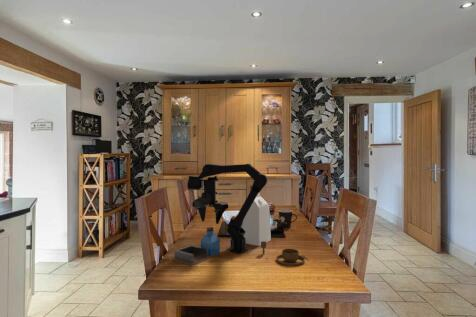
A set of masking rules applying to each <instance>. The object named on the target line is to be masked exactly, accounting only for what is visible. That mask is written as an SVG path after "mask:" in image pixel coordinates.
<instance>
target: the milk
mask: <svg viewBox="0 0 476 317" xmlns="http://www.w3.org/2000/svg"><path fill="white" fill-rule="evenodd" d="M260 192H261V191H260ZM260 192H259V193H258V195H257V196H256V198H255V200H254V202H253V204H252V205H251V207H250V209H249V211H248V212H247V214H246V216H245V218H244V221H243V224H242V228H243V229H244V230H245V235H244V238H246V244H247V245H251V246H252V245H253V246H258V247H261V242H262V241H265V242H266V244H267V243H268V242H270V241H271V240H272V238H271V237H272V236H271V234H272V233H271V232H272V231H271V214H270V213H271V212H270V205H269V203H268V202H267V201H266V200H265V199H264V198H263V197H262V196H261V193H260Z"/></svg>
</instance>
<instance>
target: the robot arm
mask: <svg viewBox="0 0 476 317" xmlns="http://www.w3.org/2000/svg"><path fill="white" fill-rule="evenodd" d="M228 173H229V174H231V173H233V174H234V173H246V174H247V175H248V176H250V178H251V179H252V180H253V183H252V186H251V190H250V192H249V194H248V195H247V197H246V199H245V201H244V202H243V204H242V206H241V207H240V209H239V211H238V213H237V215H236V216H234V215H233V216H232V217H231V218H230V220H229V222H228V223H227V225H226V226H227V228H226V231H227V232H226V233H227V234H228V235H229V236H230V238H231V239H230V249H228V250H229V251H228V252H232V253H237V254H241V253H244V252H246V251H248V248H247V247H246V246H247V245H246V238H244V235H245V230H244V229H243V228H242V224H243V221H244V218H245V216H246V214H247V212H248V211H249V209H250V207H251V205H252V204H253V202H254V200H255V198H256V196H257V195H258V193H259V192H261V191H262V190H263V188H264V187H265V186H266V185H267V183H268V181H269V178H268V176H267V175H266V174H265V173H261V172H260V171H259V170H258V169H256V168H255V167H254V166H253V165H252V164H251V163H245V164H227V165H225V164H224V165H223V164H216V163H215V164H214V163H206V164H205V165H203V167H202V170H201V172H200V174H199V175H198V176H197V175H195V176H194V175H189V176H188V179H187V184H186V185H187V189H188V191H201V190H202V189H203V192H201V196H199V197H197V198H196V199H194V200H193V201H192V204H191V205H192V207H193V208H194V209H196V210H197V212H198V213H199V216H200V219H201V222H205V219H206V213H207V212H206V211H207V207H211V208H212V207H213V208H214V210H213V212H214V213H215V223H216V225H218V224H219V223H220V222H221V218H222V216H223V214H224V212H225V211H226V210H228V209H229V203H227V202H226V201H225V202H223V201H220V202H218V200H217V195H218V191H217V188H216V186H217V184H216V183H217V182H218V181H220V180H221V179H220V178H219V177H218V175H220V174H228ZM213 176H214V177H213ZM205 178H206V179H205Z"/></svg>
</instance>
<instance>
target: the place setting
mask: <svg viewBox="0 0 476 317" xmlns="http://www.w3.org/2000/svg"><path fill="white" fill-rule="evenodd" d="M260 247H261V249H262V255H266V252H265V249H267V243H266V242H265V241H262V242H261V245H260ZM299 253H300V252H299V250H298V249H295V248H285V249H282V250H281V254H279V255H277V256H276V257H275V259H276V262H277V263H278V264H279V265H283V266H288V267H296V266H301V265H303V264H304V263H305V260H306V261H307V262H310V260H309V259H308V258H307V257H306V255H302V254H301V255H299ZM280 259H283V260H284V261H285V262H284V261H281V260H280ZM265 260H268V258H265ZM297 260H301V261H299V262H296V261H297Z"/></svg>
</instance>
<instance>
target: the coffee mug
mask: <svg viewBox="0 0 476 317" xmlns="http://www.w3.org/2000/svg"><path fill="white" fill-rule="evenodd" d="M293 216H295V219H294V220H292V218H293ZM278 219H279V227H280V226H282V227H283V228H282V227H281V228H282V229H290V228H291V227H292V223H294V222H296V221H297V219H298V216H297V215H296V214H295V213H293V210H291V209H279V210H278Z"/></svg>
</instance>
